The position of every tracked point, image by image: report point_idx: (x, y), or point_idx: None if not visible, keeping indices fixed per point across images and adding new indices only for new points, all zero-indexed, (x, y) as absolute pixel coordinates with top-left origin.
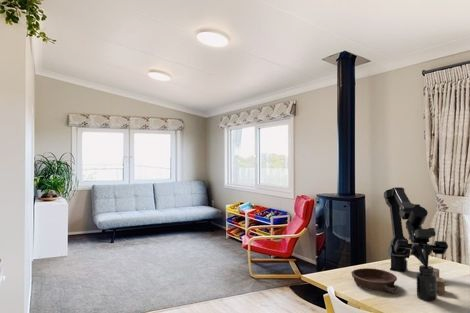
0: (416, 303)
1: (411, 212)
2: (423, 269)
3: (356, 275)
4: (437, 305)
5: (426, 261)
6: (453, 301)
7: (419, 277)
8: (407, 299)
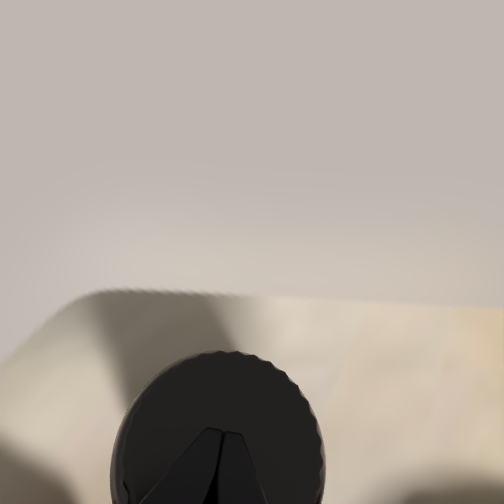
0: (335, 368)
1: None
2: (297, 391)
3: None
4: (219, 333)
5: (206, 472)
6: (63, 391)
7: (318, 425)
8: (369, 439)
